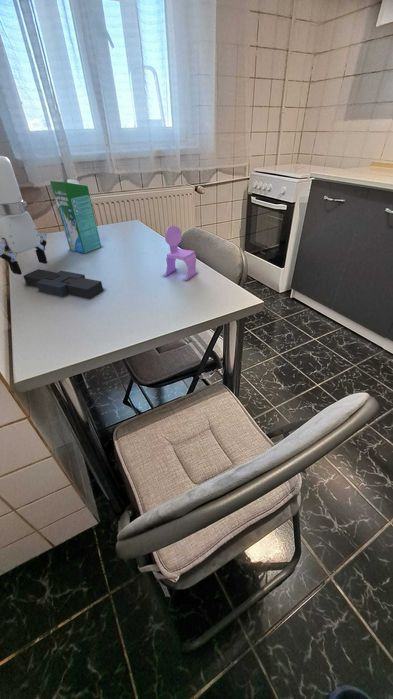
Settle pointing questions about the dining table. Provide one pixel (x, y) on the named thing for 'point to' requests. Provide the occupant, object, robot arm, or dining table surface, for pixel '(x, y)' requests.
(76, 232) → the milk carton
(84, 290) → the pad
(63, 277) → the pad
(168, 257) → the toy chair
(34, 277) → the pad
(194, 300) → the dining table surface
